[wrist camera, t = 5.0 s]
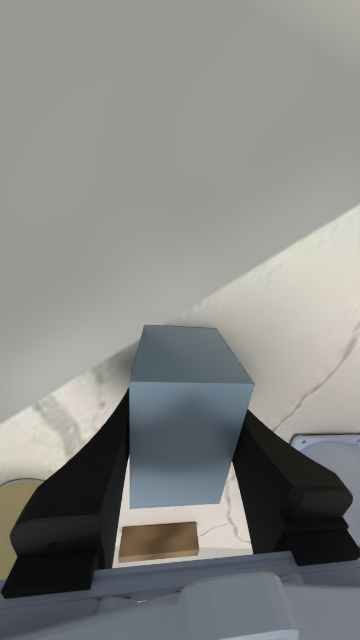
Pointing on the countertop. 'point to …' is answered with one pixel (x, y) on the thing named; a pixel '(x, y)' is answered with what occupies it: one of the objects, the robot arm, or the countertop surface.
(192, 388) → the blue-grey rectangular block
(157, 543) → the brown rectangular block
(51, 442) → the countertop surface
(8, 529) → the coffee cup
